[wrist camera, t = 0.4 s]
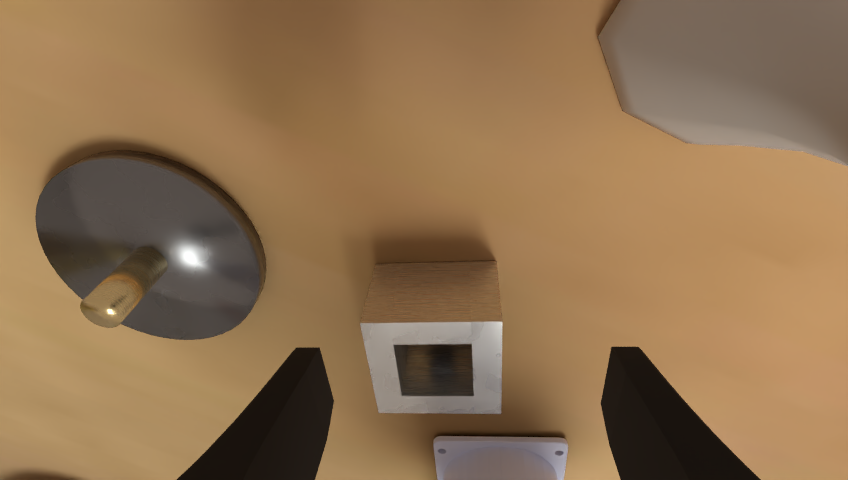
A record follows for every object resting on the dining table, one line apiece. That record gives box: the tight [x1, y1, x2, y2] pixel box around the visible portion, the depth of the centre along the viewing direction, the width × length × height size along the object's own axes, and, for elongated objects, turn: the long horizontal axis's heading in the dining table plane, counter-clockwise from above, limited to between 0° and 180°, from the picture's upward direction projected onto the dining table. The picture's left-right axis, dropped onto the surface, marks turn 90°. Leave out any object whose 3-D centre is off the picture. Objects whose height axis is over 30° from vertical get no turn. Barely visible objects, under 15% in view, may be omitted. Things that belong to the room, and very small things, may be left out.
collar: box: [360, 261, 502, 414], centre depth 22 cm, size 6×6×4 cm
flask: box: [598, 0, 848, 166], centre depth 12 cm, size 7×7×10 cm
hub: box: [36, 151, 266, 340], centre depth 21 cm, size 10×10×4 cm
